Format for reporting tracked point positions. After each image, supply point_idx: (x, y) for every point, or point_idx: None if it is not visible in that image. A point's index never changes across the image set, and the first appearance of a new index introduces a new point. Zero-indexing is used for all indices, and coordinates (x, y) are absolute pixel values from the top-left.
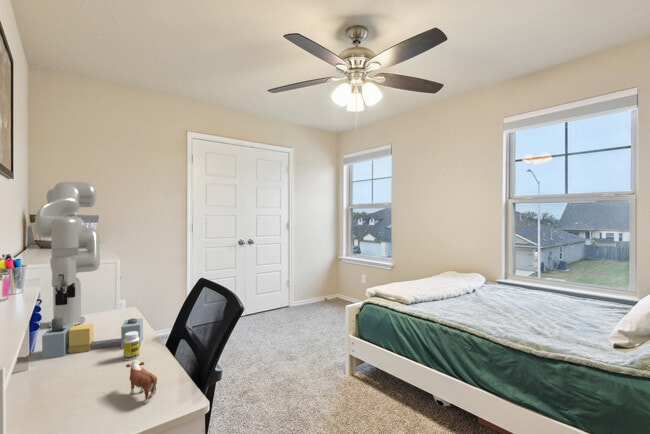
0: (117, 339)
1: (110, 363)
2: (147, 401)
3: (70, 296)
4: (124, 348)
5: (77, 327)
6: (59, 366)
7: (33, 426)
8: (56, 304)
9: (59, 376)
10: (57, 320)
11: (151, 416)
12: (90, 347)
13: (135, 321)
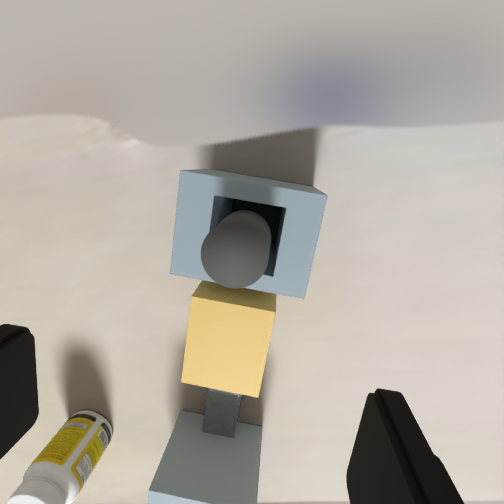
0: (226, 418)
1: (67, 375)
2: None
3: (359, 455)
4: (52, 442)
5: (227, 331)
6: (107, 237)
7: None
8: (3, 335)
9: (21, 246)
10: (201, 259)
11: None
12: None
13: None
